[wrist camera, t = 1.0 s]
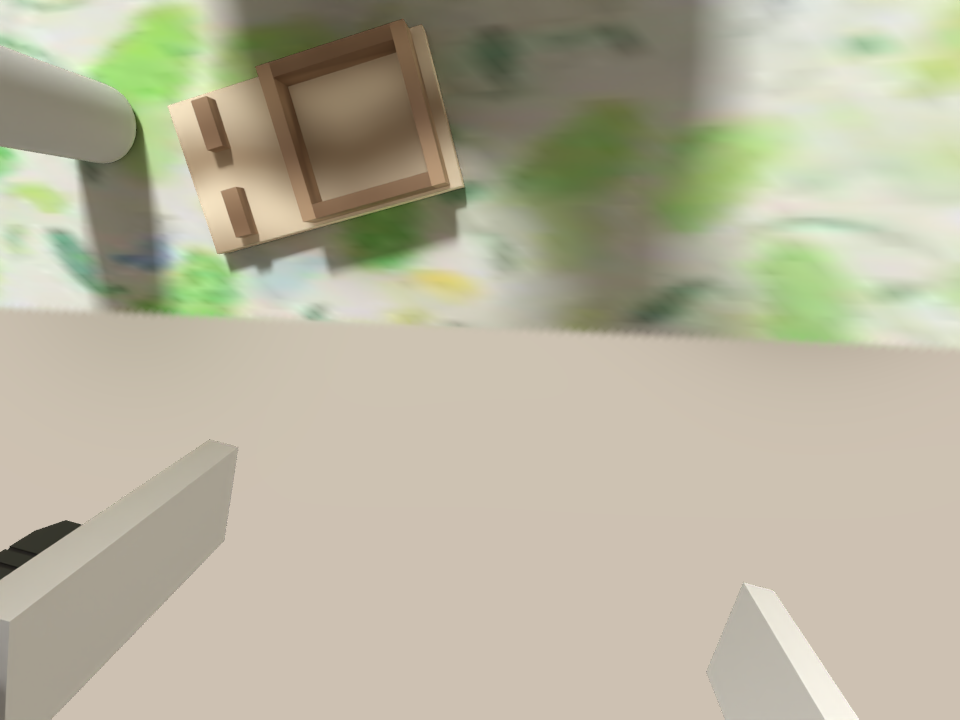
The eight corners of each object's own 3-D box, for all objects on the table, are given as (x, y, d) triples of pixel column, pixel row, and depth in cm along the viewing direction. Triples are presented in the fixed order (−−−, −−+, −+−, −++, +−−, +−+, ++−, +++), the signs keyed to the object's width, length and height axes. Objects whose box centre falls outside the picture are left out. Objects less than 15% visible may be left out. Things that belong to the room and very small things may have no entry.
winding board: (179, 109, 36) (145, 97, 33) (425, 31, 34) (414, 10, 30) (227, 253, 37) (199, 254, 34) (464, 187, 35) (458, 182, 32)
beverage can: (107, 180, 37) (-88, 155, 25) (54, 119, 36) (-171, 64, 25) (157, 129, 36) (-22, 77, 24) (103, 65, 36) (-107, -18, 24)
